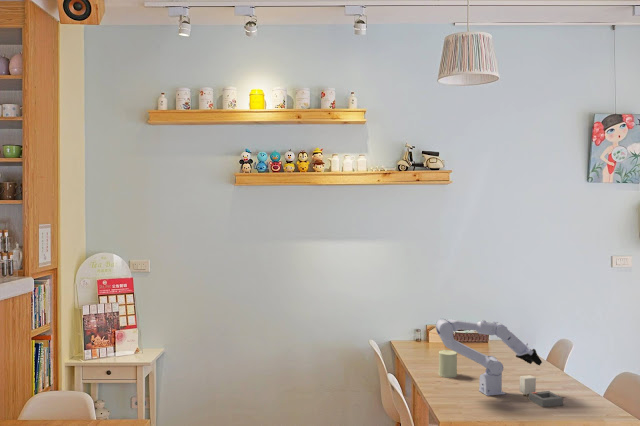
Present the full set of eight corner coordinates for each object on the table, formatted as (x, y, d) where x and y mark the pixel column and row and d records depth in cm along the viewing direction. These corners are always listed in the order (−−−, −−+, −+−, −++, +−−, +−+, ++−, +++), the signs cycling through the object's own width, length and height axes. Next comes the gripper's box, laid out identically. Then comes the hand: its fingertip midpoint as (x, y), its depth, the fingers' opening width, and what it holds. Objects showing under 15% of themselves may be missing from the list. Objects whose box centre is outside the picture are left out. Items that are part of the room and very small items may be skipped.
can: (454, 372, 305) (454, 349, 304) (459, 377, 295) (459, 353, 295) (436, 372, 304) (436, 349, 304) (440, 377, 295) (440, 353, 295)
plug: (535, 395, 268) (535, 377, 268) (524, 396, 266) (524, 378, 266) (530, 393, 272) (530, 375, 271) (519, 394, 270) (519, 376, 270)
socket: (563, 405, 256) (563, 397, 256) (542, 407, 253) (542, 399, 253) (548, 397, 265) (548, 390, 265) (528, 399, 263) (528, 392, 263)
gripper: (527, 337, 266) (549, 357, 266) (511, 335, 280) (532, 355, 280) (518, 349, 264) (540, 369, 265) (502, 347, 279) (524, 366, 279)
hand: (536, 363), depth 272 cm, fingers open, 7 cm apart
